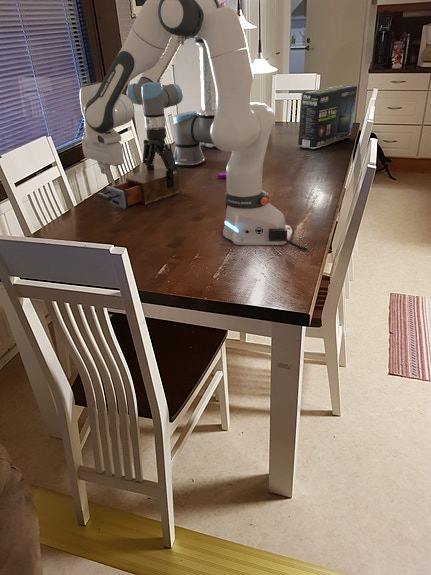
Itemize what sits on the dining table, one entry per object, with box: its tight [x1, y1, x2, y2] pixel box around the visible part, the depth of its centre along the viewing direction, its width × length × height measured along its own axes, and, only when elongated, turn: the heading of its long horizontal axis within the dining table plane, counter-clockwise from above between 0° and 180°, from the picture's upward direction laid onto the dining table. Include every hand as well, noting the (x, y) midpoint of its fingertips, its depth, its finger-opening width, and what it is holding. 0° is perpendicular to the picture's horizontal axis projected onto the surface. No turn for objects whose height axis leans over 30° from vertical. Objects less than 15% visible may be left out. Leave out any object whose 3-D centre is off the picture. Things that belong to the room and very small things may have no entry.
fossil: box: [200, 143, 219, 150], centre depth 248 cm, size 18×11×15 cm
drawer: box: [96, 181, 144, 209], centre depth 174 cm, size 22×10×6 cm, turn 136°
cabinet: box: [125, 167, 181, 206], centre depth 181 cm, size 18×11×8 cm, turn 136°
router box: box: [297, 84, 358, 151], centre depth 238 cm, size 36×11×27 cm, turn 134°
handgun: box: [217, 172, 226, 179], centre depth 193 cm, size 21×8×2 cm, turn 11°
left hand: (161, 184), depth 184 cm, fingers closed on cabinet, 11 cm apart
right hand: (105, 173), depth 164 cm, fingers closed
